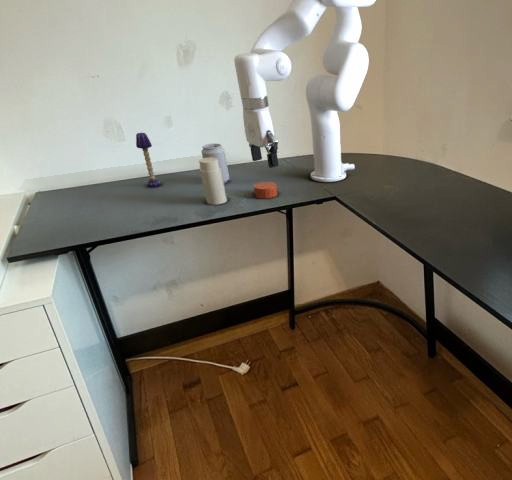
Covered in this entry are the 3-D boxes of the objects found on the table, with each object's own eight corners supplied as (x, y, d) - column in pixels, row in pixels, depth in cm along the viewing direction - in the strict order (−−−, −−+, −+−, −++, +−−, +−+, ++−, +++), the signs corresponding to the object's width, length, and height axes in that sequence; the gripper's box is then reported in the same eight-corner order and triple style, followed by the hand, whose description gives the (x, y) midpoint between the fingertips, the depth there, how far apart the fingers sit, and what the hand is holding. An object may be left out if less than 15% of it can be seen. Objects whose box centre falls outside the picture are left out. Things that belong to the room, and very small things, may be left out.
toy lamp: (164, 183, 162) (150, 131, 152) (159, 187, 158) (145, 135, 148) (150, 183, 162) (135, 131, 152) (145, 187, 158) (130, 135, 148)
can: (232, 178, 166) (226, 142, 159) (225, 185, 160) (218, 148, 153) (212, 177, 166) (205, 142, 159) (204, 184, 161) (196, 147, 153)
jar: (225, 196, 151) (217, 156, 143) (228, 203, 146) (220, 161, 138) (205, 199, 149) (196, 158, 141) (207, 205, 144) (198, 163, 137)
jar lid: (264, 200, 148) (262, 190, 146) (250, 195, 152) (249, 185, 150) (282, 194, 152) (280, 185, 150) (268, 189, 156) (267, 180, 154)
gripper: (229, 101, 139) (241, 160, 150) (259, 109, 129) (269, 172, 140) (251, 97, 143) (261, 155, 154) (282, 105, 133) (290, 166, 143)
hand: (265, 163), depth 147 cm, fingers open, 9 cm apart
